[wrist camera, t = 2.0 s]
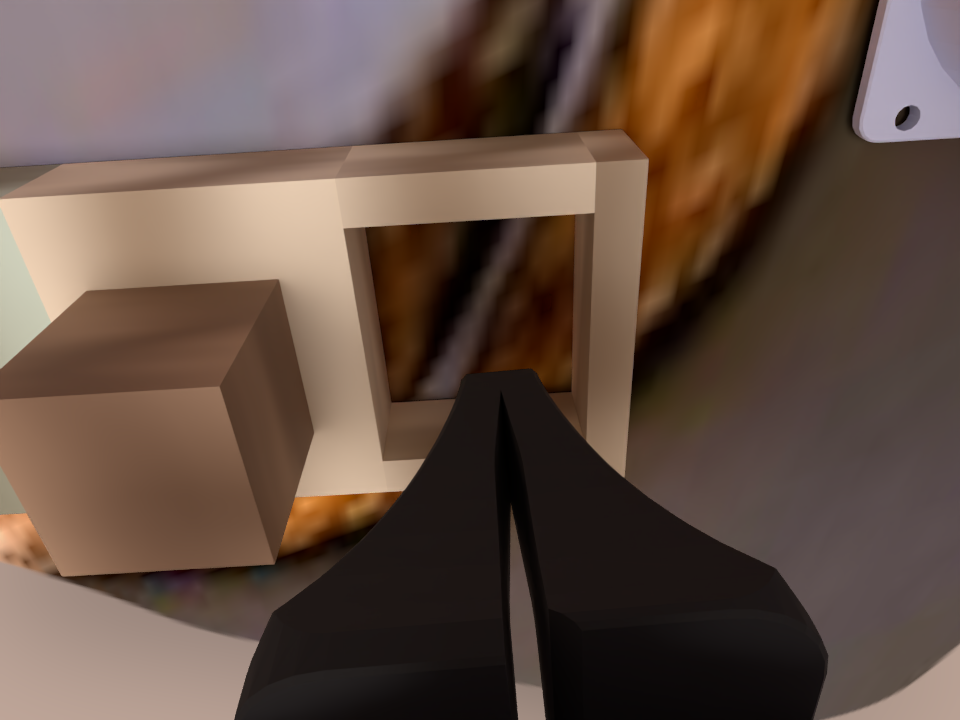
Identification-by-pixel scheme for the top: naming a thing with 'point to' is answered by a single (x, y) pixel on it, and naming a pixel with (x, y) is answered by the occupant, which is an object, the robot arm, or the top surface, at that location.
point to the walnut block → (158, 428)
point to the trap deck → (336, 266)
